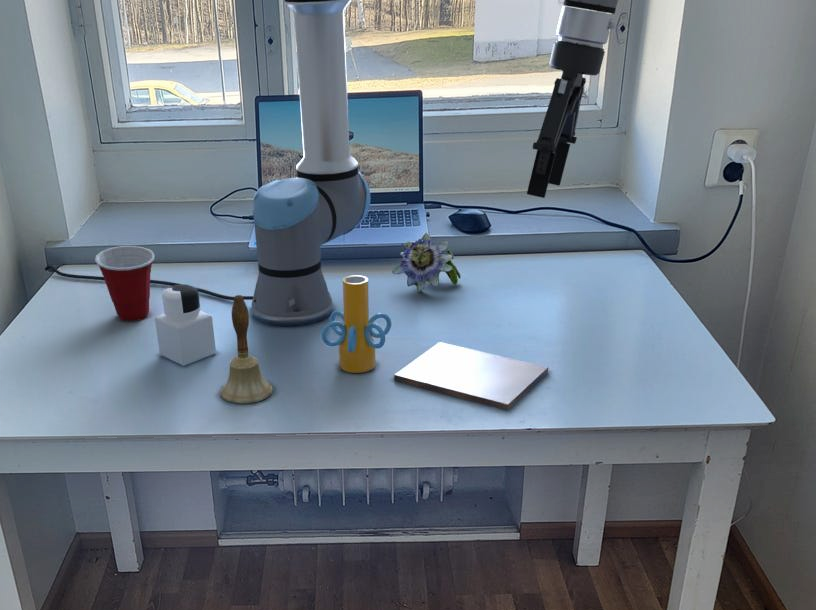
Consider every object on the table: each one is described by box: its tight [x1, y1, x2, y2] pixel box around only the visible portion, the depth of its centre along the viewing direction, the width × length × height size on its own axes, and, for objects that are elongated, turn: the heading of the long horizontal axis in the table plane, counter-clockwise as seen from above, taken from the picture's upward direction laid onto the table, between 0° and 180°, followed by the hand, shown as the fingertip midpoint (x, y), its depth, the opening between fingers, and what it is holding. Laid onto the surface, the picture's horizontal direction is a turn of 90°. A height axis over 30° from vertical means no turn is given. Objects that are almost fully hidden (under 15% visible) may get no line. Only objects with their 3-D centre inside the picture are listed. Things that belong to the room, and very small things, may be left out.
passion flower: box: [392, 232, 462, 293], centre depth 182 cm, size 11×11×12 cm
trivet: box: [393, 341, 549, 411], centre depth 148 cm, size 20×15×1 cm
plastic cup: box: [94, 245, 155, 322], centre depth 171 cm, size 11×11×12 cm
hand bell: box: [220, 294, 274, 405], centre depth 142 cm, size 8×8×16 cm
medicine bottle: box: [154, 284, 217, 367], centre depth 156 cm, size 7×7×12 cm
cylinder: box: [321, 274, 392, 374], centre depth 149 cm, size 12×10×15 cm
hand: (543, 189), depth 145 cm, fingers open, 13 cm apart
